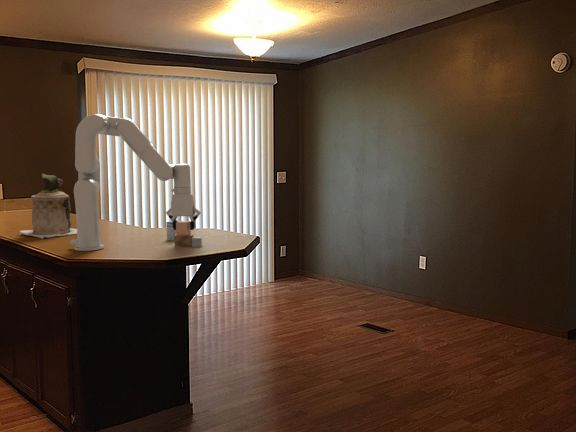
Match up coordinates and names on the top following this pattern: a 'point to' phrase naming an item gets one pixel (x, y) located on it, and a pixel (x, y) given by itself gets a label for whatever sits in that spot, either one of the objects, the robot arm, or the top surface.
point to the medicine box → (170, 230)
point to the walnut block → (183, 240)
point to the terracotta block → (183, 228)
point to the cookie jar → (50, 211)
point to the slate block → (196, 241)
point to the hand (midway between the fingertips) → (183, 229)
